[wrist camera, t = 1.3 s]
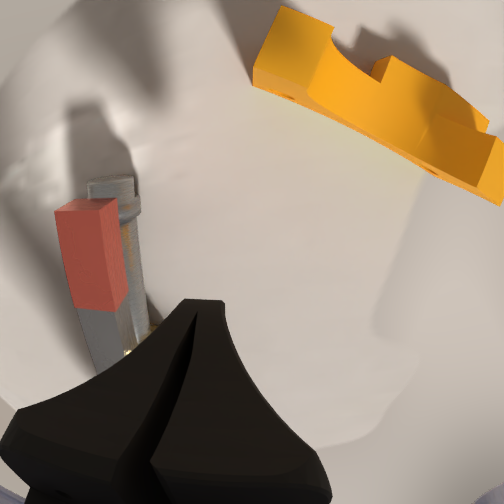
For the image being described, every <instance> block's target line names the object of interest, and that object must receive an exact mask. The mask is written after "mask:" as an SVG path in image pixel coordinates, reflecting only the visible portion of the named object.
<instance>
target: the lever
mask: <svg viewBox="0 0 504 504" xmlns="http://www.w3.org/2000/svg"><path fill="white" fill-rule="evenodd" d="M54 213H55V220H56V226H57V232H58V237H59V243H60V248H61V253H62V258H63V263H64V267H65V272H66V276H67V280H68V284H69V288H70V292H71V296H72V300H73V304H74V307H75V308H76V309H77V312H78V316H79V319H80V323H81V326H82V329H83V332H84V336H85V339H86V342H87V345H88V348H89V351H90V354H91V357H92V360H93V362H94V365H95V368H96V371H97V373H98V374H100V373H102V372H103V371H105V370H107V369H108V368H110V367H111V366H112V365H114V364H115V363H117V362H118V361H119V360H121V359H122V358H124V357H125V356H126V355H127V354H129V353H130V352H131V351H132V350H133V349H134V348H136V347H137V346H138V343H137V338H136V334H135V329H134V324H133V319H132V314H131V309H130V304H129V298H128V291H129V289H128V283H127V277H126V270H125V263H124V256H123V249H122V241H121V233H120V224H119V214H118V203H117V198H90V199H74V200H73V201H71V202H69V203H67V204H66V205H64V206H62V207H60V208H59V209H57V210H55V211H54Z"/></svg>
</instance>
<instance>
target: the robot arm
mask: <svg viewBox="0 0 504 504" xmlns="http://www.w3.org/2000/svg"><path fill="white" fill-rule="evenodd" d="M0 456H1V458H2V460H3V461H4V462H5V463H6V464H7V465H8V466H9V467H10V468H11V469H12V470H13V471H14V472H15V473H16V474H17V475H18V476H19V477H20V478H21V479H22V480H23V481H24V482H25V483H26V484H27V485H29V486H30V489H29V492H28V495H27V497H26V499H25V498H23V497H21V496H19V495H17V494H15V493H13V492H12V491H10V490H8V489H6V488H4V487H2V486H1V485H0V504H329V503H330V502H331V499H332V497H333V496H332V490H331V486H330V483H329V480H328V477H327V474H326V472H325V470H324V467H323V465H322V463H321V461H320V459H319V457H318V455H317V453H316V451H315V450H313V449H312V448H311V447H310V446H309V445H308V444H307V443H305V442H304V441H303V440H302V439H301V438H300V437H299V436H298V435H297V434H296V433H295V432H294V431H293V430H292V429H291V428H290V427H289V426H288V425H287V424H286V423H285V422H284V421H283V420H282V419H281V418H280V417H279V415H278V414H277V413H276V412H275V411H274V409H273V408H272V407H271V406H270V404H269V403H268V402H267V401H266V399H265V398H264V397H263V395H262V394H261V393H260V391H259V390H258V388H257V387H256V385H255V384H254V382H253V381H252V379H251V377H250V376H249V374H248V372H247V371H246V369H245V367H244V365H243V363H242V361H241V359H240V357H239V355H238V353H237V351H236V348H235V346H234V344H233V341H232V338H231V335H230V332H229V329H228V326H227V322H226V318H225V303H224V302H223V301H222V300H201V299H184V300H182V301H181V302H180V304H179V305H178V306H177V307H176V308H175V309H174V310H173V311H172V312H171V313H170V314H169V316H168V317H167V318H166V319H165V320H164V321H163V322H162V323H161V324H160V325H159V326H158V327H157V328H156V329H155V330H154V331H153V332H152V333H151V334H150V335H149V336H148V337H147V338H146V339H145V340H143V341H142V342H141V343H140V344H139V345H138V346H137V347H136V348H134V349H133V350H132V351H131V352H130V353H129V354H127V355H126V356H125V357H124V358H122V359H121V360H119V361H118V362H117V363H115V364H114V365H112V366H111V367H110V368H108V369H107V370H105V371H103V372H102V373H100V374H98V375H97V376H95V377H93V378H92V379H90V380H88V381H86V382H85V383H83V384H81V385H79V386H77V387H75V388H73V389H71V390H69V391H67V392H65V393H62V394H60V395H58V396H56V397H53V398H51V399H48V400H45V401H42V402H40V403H37V404H34V405H31V406H28V407H25V408H21V409H18V410H17V412H16V413H15V415H14V417H13V419H12V420H11V422H10V424H9V426H8V428H7V429H6V431H5V433H4V435H3V437H2V439H1V441H0ZM472 504H504V482H503V483H501V484H499V485H497V486H495V487H494V488H492V489H490V490H489V491H487V492H486V493H484V494H483V495H481V496H480V497H479V498H478V499H477V500H476V501H474V503H472Z"/></svg>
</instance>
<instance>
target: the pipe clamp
mask: <svg viewBox="0 0 504 504" xmlns="http://www.w3.org/2000/svg"><path fill="white" fill-rule="evenodd" d="M333 29H334V27H333V26H331V25H329V24H327V23H324V22H322V21H320V20H318V19H315V18H313V17H310V16H308V15H306V14H303V13H301V12H298V11H296V10H293V9H290V8H288V7H285V6H282V5H281V7H280V9H279V11H278V13H277V15H276V17H275V20H274V22H273V24H272V26H271V28H270V30H269V32H268V35H267V37H266V39H265V41H264V43H263V46H262V48H261V50H260V52H259V55H258V57H257V59H256V61H255V64H254V66H253V86H254V87H257V88H260V89H262V90H265V91H268V92H270V93H273V94H275V95H278V96H280V97H283V98H285V99H288V100H290V101H292V102H295V103H297V104H300V105H302V106H304V107H306V108H309V109H311V110H313V111H315V112H318V113H320V114H322V115H324V116H326V117H329V118H331V119H333V120H335V121H337V122H339V123H341V124H343V125H345V126H347V127H349V128H351V129H353V130H355V131H357V132H359V133H361V134H363V135H365V136H367V137H369V138H370V139H372V140H374V141H376V142H378V143H380V144H382V145H383V146H385V147H387V148H389V149H390V150H392V151H394V152H396V153H397V154H399V155H401V156H403V157H404V158H406V159H408V160H409V161H411V162H413V163H414V164H416V165H418V166H419V167H421V168H422V169H424V170H426V171H427V172H428V173H430V174H431V175H433V176H435V177H437V178H440V179H442V180H444V181H446V182H449V183H451V184H453V185H456V186H458V187H460V188H463V189H465V190H467V191H469V192H471V193H473V194H475V195H477V196H480V197H481V198H483V199H486V200H488V201H490V202H491V203H493V204H496V205H497V206H500V205H501V203H502V201H503V198H504V143H503V142H502V141H501V140H500V139H499V138H498V137H497V136H493V135H489V134H486V130H487V127H488V124H489V120H488V119H487V118H486V117H485V116H483V115H482V114H481V113H480V112H479V111H478V110H477V109H475V108H474V107H473V106H472V105H471V104H469V103H468V102H467V101H466V100H465V99H463V98H462V97H461V96H460V95H458V94H457V93H456V92H455V91H453V90H452V89H451V88H449V87H448V86H447V85H446V84H443V83H441V82H439V81H437V80H435V79H433V78H431V77H429V76H427V75H425V74H423V73H421V72H420V71H418V70H416V69H414V68H412V67H411V66H409V65H407V64H405V63H404V62H402V61H400V60H399V59H397V58H396V57H394V56H393V55H391V56H388V57H385V58H383V59H380V60H378V61H376V62H375V64H374V66H373V69H372V71H371V74H370V76H368V75H367V74H365V73H364V72H362V71H361V70H360V69H358V68H357V67H356V66H354V65H353V64H352V63H351V62H349V61H348V60H347V59H346V58H345V57H344V56H343V55H342V54H341V53H340V52H339V51H338V50H337V48H336V47H335V46H334V44H333V42H332V39H331V34H332V32H333Z"/></svg>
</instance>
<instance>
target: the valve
mask: <svg viewBox="0 0 504 504" xmlns="http://www.w3.org/2000/svg"><path fill="white" fill-rule="evenodd" d="M87 191H88V199H90V198H117V203H118V214H119V224H120V233H121V241H122V249H123V256H124V263H125V270H126V277H127V283H128V289H129V291H128V298H129V304H130V309H131V314H132V319H133V324H134V329H135V334H136V338H137V343H138V345H139V344H140V343H141V342H142V341H143V340H145V339H146V338H147V337H148V336H149V335H150V334H151V333H152V332H153V331H154V330H155V329H156V328H157V327H158V326H157V325H150V321H149V315H148V308H147V302H146V295H145V289H144V281H143V274H142V266H141V258H140V249H139V240H138V230H137V219H136V216H138V215H139V214H140V213H141V201H140V196H139V195H138V194H135V192H134V177H133V176H129V175H116V176H107V177H101V178H97V179H93V180H91V181H89V182H87Z"/></svg>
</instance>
